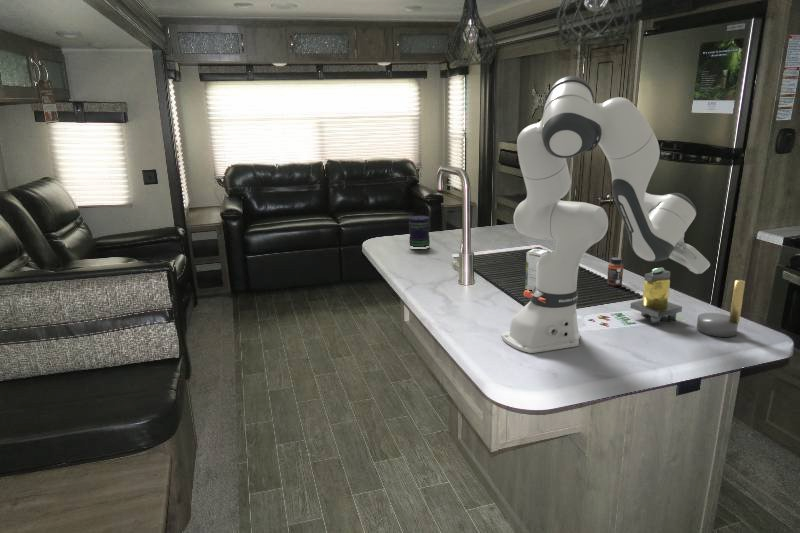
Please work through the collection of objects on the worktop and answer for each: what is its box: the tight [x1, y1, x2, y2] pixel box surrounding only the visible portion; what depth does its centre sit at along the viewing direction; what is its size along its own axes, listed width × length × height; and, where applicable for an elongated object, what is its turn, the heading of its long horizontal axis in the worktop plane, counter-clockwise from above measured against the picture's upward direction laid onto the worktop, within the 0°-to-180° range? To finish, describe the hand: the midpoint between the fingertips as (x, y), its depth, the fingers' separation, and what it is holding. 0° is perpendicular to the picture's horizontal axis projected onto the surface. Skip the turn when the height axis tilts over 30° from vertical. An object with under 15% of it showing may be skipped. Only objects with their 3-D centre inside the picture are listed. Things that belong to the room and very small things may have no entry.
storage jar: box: [408, 215, 431, 247], centre depth 260 cm, size 10×10×15 cm
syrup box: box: [524, 248, 549, 292], centre depth 194 cm, size 6×6×14 cm
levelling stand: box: [630, 267, 683, 327], centre depth 163 cm, size 10×10×16 cm
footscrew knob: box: [696, 279, 746, 338], centre depth 153 cm, size 10×10×15 cm
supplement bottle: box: [606, 256, 624, 287], centre depth 197 cm, size 5×5×10 cm
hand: (696, 271), depth 150 cm, fingers closed
